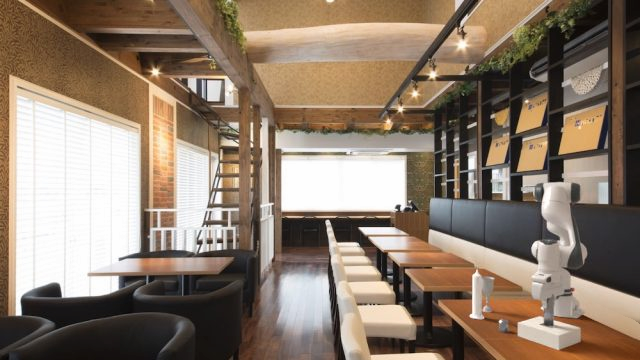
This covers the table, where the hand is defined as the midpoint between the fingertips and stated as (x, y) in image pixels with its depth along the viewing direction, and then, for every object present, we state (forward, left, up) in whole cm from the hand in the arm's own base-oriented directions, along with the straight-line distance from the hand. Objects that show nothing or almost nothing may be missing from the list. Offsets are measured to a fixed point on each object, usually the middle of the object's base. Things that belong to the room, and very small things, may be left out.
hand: (548, 306), depth 178 cm
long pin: (0, 0, -8) cm, 8 cm away
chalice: (-11, -39, -14) cm, 43 cm away
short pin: (+9, -16, -14) cm, 23 cm away
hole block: (0, 0, -14) cm, 14 cm away
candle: (+3, -35, -14) cm, 38 cm away
